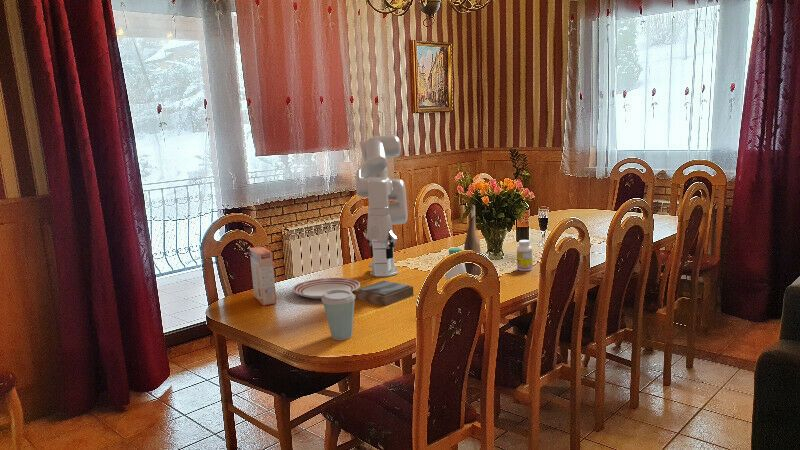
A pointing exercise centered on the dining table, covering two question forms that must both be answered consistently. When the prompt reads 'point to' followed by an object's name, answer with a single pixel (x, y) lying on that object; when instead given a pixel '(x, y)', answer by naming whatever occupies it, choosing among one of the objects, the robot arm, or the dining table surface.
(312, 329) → the dining table surface
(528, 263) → the supplement bottle
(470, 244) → the grey vase
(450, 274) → the milk bottle
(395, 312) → the dining table surface
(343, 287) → the dinner plate
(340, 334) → the disposable coffee cup
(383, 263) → the syrup box
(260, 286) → the cracker box
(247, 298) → the dining table surface
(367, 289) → the podium
